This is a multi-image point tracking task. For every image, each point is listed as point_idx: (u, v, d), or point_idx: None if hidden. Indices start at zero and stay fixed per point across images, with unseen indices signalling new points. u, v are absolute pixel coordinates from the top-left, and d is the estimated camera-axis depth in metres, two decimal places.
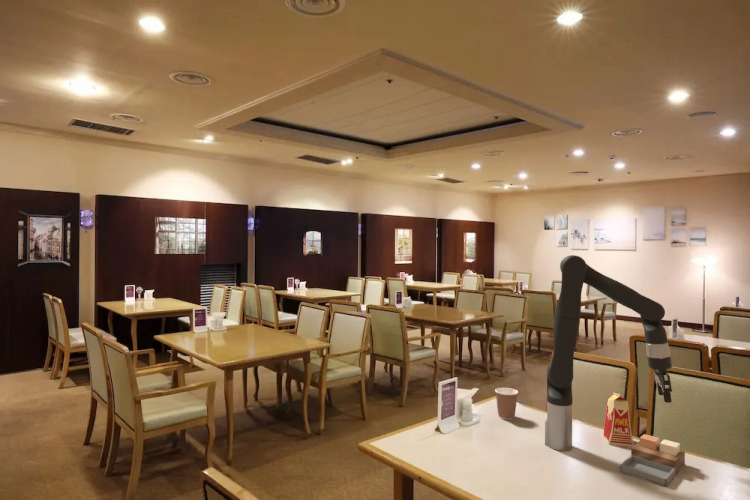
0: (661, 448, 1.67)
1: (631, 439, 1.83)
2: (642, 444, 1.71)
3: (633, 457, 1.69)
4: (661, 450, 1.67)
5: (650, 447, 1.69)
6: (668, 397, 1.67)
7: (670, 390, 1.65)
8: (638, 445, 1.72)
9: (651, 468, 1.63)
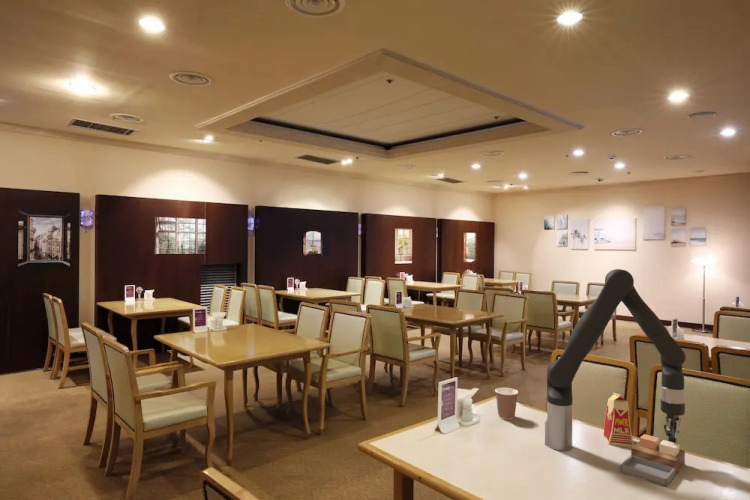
0: (660, 449, 1.66)
1: (631, 439, 1.83)
2: (642, 444, 1.71)
3: (633, 457, 1.69)
4: (660, 451, 1.66)
5: (650, 447, 1.69)
6: None
7: (672, 435, 1.67)
8: (638, 445, 1.72)
9: (651, 468, 1.63)
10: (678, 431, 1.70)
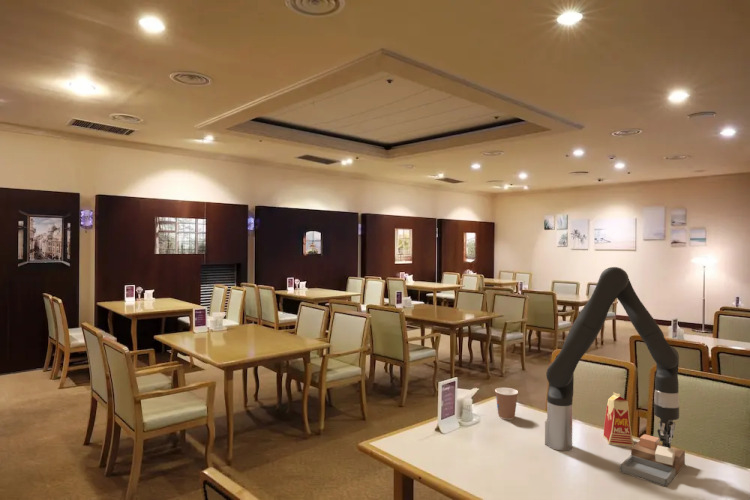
0: (657, 458, 1.61)
1: (631, 439, 1.83)
2: (642, 444, 1.71)
3: (633, 457, 1.69)
4: (657, 460, 1.61)
5: (650, 447, 1.69)
6: None
7: (666, 440, 1.62)
8: (638, 445, 1.72)
9: (651, 468, 1.63)
10: (672, 436, 1.65)
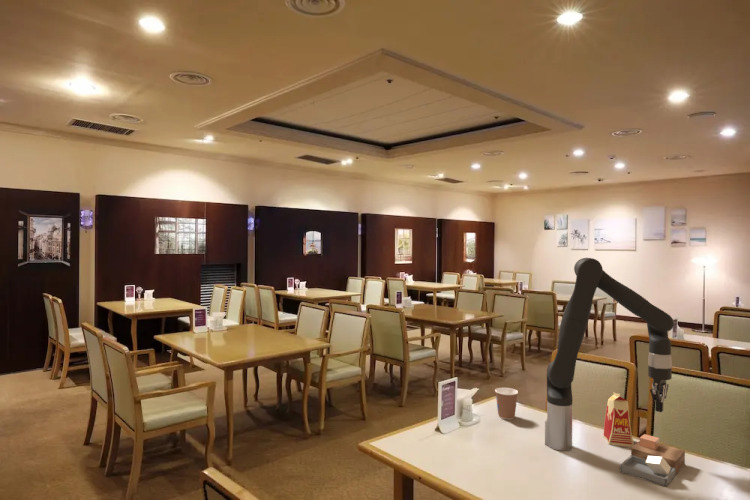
0: None
1: (631, 439, 1.83)
2: (642, 444, 1.71)
3: (633, 457, 1.69)
4: None
5: (650, 447, 1.69)
6: (658, 406, 1.73)
7: (658, 399, 1.71)
8: (638, 445, 1.72)
9: None
10: (665, 396, 1.75)
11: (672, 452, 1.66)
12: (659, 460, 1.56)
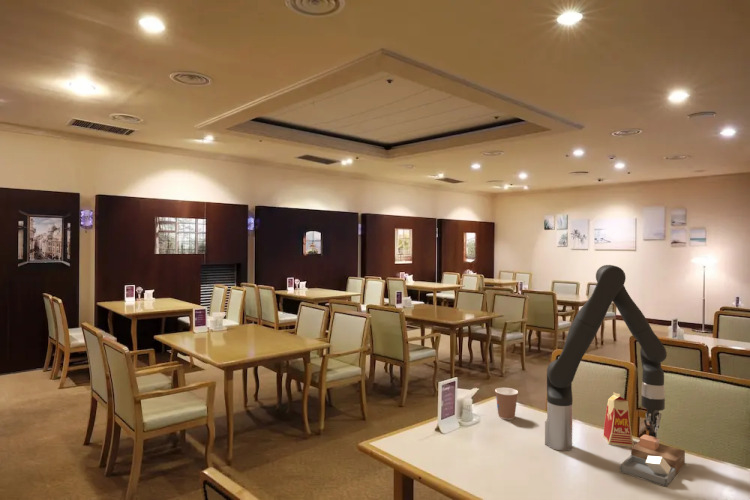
0: None
1: (631, 439, 1.83)
2: (642, 444, 1.71)
3: (633, 457, 1.69)
4: None
5: (650, 447, 1.69)
6: (652, 436, 1.73)
7: (652, 430, 1.72)
8: (638, 445, 1.72)
9: None
10: (658, 426, 1.75)
11: (672, 452, 1.66)
12: (659, 460, 1.56)
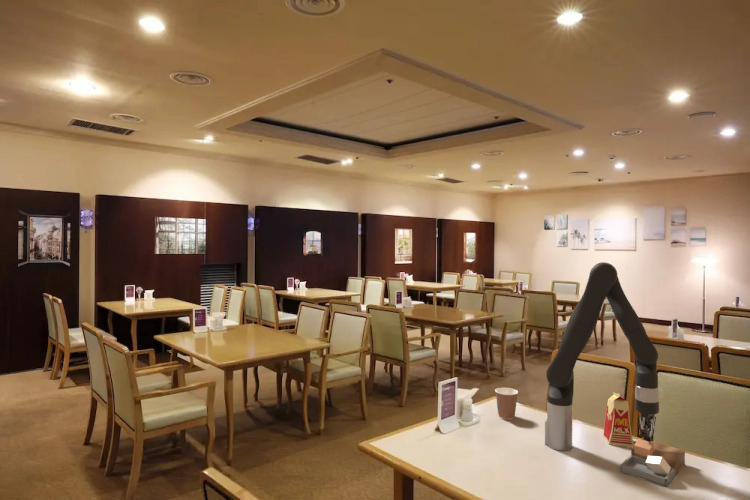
0: None
1: (631, 439, 1.83)
2: (636, 451, 1.66)
3: (633, 457, 1.69)
4: None
5: (645, 454, 1.64)
6: None
7: (646, 434, 1.67)
8: None
9: None
10: (653, 430, 1.70)
11: (672, 452, 1.66)
12: (659, 460, 1.56)
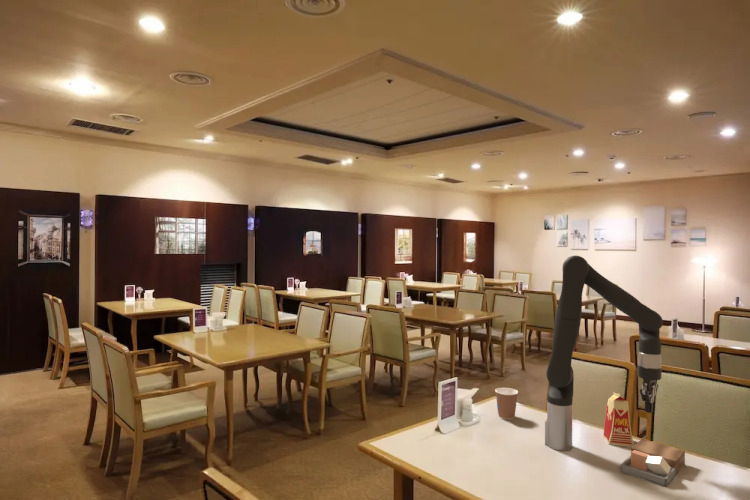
0: None
1: (631, 439, 1.83)
2: None
3: None
4: None
5: None
6: (648, 407, 1.69)
7: (648, 400, 1.68)
8: (638, 445, 1.72)
9: None
10: (655, 397, 1.71)
11: (672, 452, 1.66)
12: (659, 460, 1.56)
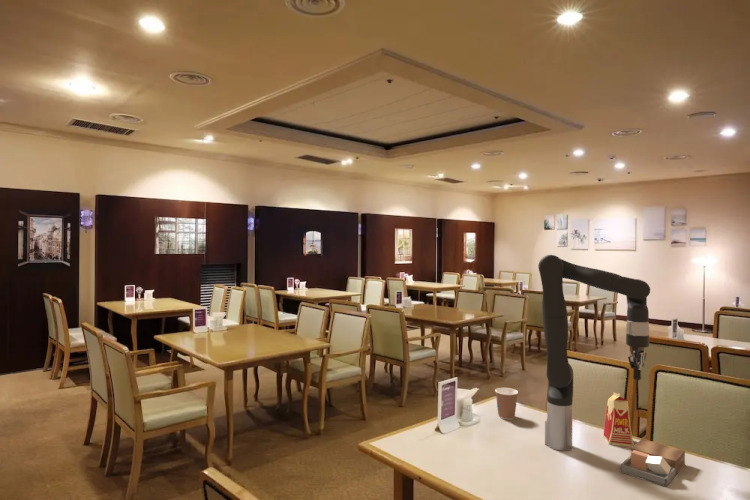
0: None
1: (631, 439, 1.83)
2: None
3: None
4: None
5: None
6: (636, 374, 1.73)
7: (636, 367, 1.71)
8: (638, 445, 1.72)
9: None
10: (643, 364, 1.74)
11: (672, 452, 1.66)
12: (659, 460, 1.56)
